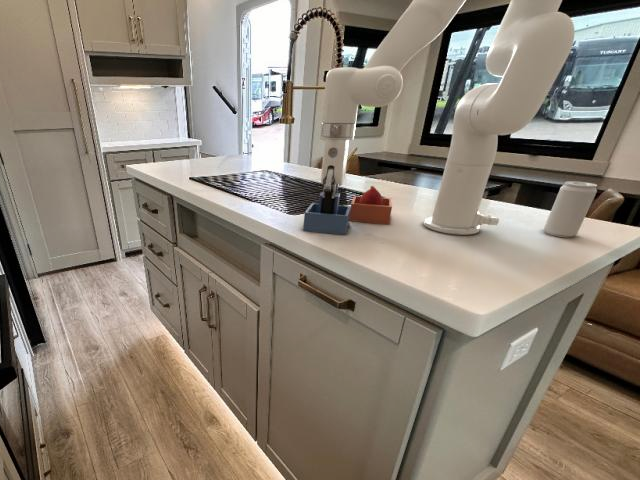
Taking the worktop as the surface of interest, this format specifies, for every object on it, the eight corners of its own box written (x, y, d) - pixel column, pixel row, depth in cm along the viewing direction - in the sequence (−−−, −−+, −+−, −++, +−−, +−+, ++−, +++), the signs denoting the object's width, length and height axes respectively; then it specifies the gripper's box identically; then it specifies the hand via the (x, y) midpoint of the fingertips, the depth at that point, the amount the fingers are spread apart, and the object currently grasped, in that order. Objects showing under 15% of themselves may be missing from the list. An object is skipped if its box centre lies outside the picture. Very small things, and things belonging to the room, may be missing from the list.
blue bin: (348, 223, 95) (351, 206, 93) (344, 234, 87) (347, 216, 84) (310, 219, 98) (311, 203, 96) (303, 230, 90) (304, 212, 87)
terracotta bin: (388, 214, 103) (391, 198, 101) (388, 224, 94) (392, 206, 92) (351, 211, 106) (354, 195, 104) (348, 220, 97) (351, 203, 95)
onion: (376, 213, 102) (382, 184, 98) (381, 218, 97) (387, 188, 93) (356, 212, 103) (360, 183, 99) (359, 217, 98) (364, 187, 94)
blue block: (337, 210, 92) (340, 193, 90) (335, 215, 88) (338, 196, 86) (320, 209, 93) (322, 191, 91) (317, 213, 89) (319, 195, 87)
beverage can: (570, 232, 88) (593, 181, 83) (579, 239, 83) (604, 186, 77) (539, 228, 91) (559, 179, 85) (546, 236, 86) (568, 184, 80)
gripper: (351, 134, 74) (339, 222, 82) (357, 130, 88) (346, 205, 96) (315, 134, 76) (307, 219, 85) (326, 129, 90) (318, 203, 99)
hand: (328, 210), depth 90 cm, fingers closed on blue block, 4 cm apart
